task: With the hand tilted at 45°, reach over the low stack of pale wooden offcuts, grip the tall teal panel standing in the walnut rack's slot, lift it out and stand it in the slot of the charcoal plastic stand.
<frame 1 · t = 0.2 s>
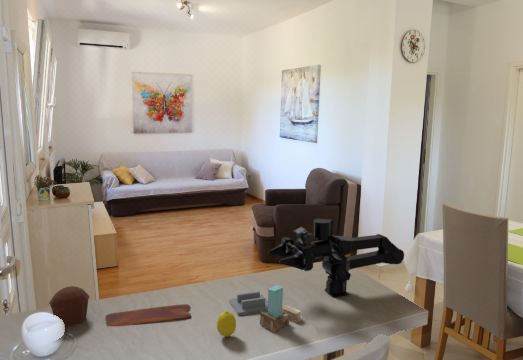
hand: (273, 257, 141), 17 cm above the kitchen counter, tool horizontal, fingers open, 9 cm apart
lemon: (226, 337, 122), on the kitchen counter
wooden tablet: (148, 317, 134), on the kitchen counter
offcut stack: (289, 317, 135), on the kitchen counter
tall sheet: (274, 324, 130), resting in walnut rack
walnut rack: (274, 324, 130), on the kitchen counter
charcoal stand: (250, 305, 142), on the kitchen counter
muffin: (70, 320, 131), on the kitchen counter
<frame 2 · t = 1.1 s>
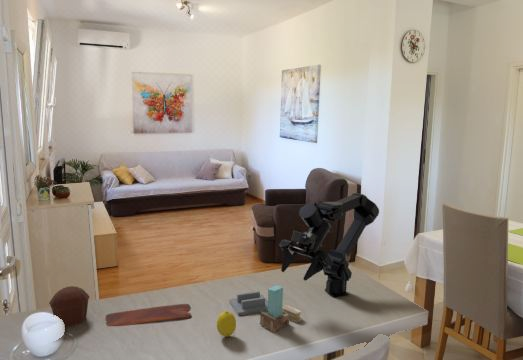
hand: (292, 275, 133), 14 cm above the kitchen counter, tool tilted 45°, fingers open, 9 cm apart
nothing on the kitchen counter moved.
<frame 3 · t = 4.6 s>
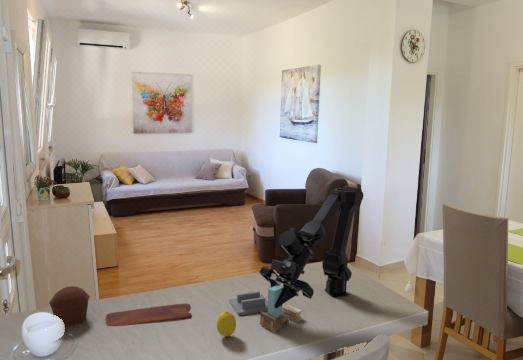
hand: (272, 306, 128), 7 cm above the kitchen counter, tool tilted 45°, fingers closed on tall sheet, 2 cm apart
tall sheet: (274, 324, 130), resting in walnut rack, touching gripper
everything else where it was.
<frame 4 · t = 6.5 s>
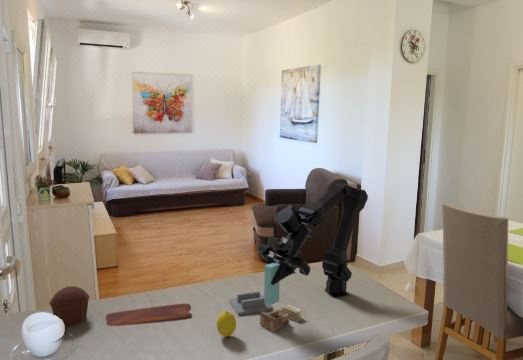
hand: (268, 283, 128), 13 cm above the kitchen counter, tool tilted 45°, fingers closed on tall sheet, 2 cm apart
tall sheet: (271, 301, 130), point 7 cm above the kitchen counter, touching gripper
everything else where it was.
when the fingers open (9 cm above the kitchen counter, at t = 8.8 s): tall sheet drops 1 cm, resting on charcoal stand.
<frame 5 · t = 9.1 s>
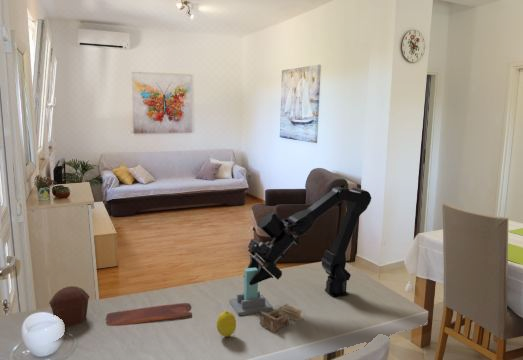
hand: (247, 281, 140), 9 cm above the kitchen counter, tool tilted 45°, fingers open, 5 cm apart
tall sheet: (250, 303, 141), point 1 cm above the kitchen counter, touching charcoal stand
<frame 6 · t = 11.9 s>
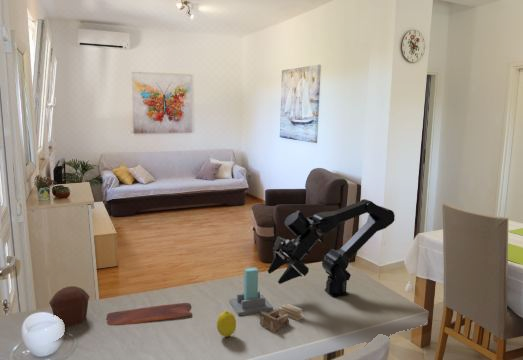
hand: (273, 277, 143), 9 cm above the kitchen counter, tool tilted 45°, fingers open, 9 cm apart
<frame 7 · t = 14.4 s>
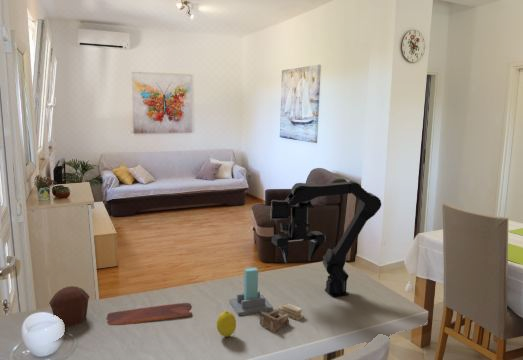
hand: (297, 261, 150), 12 cm above the kitchen counter, tool pointing down, fingers open, 9 cm apart
at the end: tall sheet 0.1 cm off-centre on the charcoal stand, point 1.0 cm above the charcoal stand's base; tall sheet tilted 0°; offcut stack moved 1.7 cm from its start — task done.
